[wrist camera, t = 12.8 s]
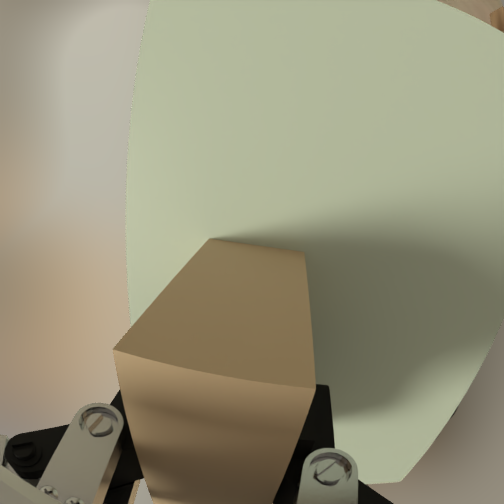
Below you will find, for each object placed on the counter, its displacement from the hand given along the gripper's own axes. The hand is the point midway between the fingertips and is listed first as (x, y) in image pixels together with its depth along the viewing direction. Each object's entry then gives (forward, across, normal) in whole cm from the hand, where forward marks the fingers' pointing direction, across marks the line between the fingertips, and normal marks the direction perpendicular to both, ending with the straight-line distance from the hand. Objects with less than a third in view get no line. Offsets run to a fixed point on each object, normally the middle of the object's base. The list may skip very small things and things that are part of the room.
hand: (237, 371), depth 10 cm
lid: (+3, -3, -2) cm, 5 cm away
